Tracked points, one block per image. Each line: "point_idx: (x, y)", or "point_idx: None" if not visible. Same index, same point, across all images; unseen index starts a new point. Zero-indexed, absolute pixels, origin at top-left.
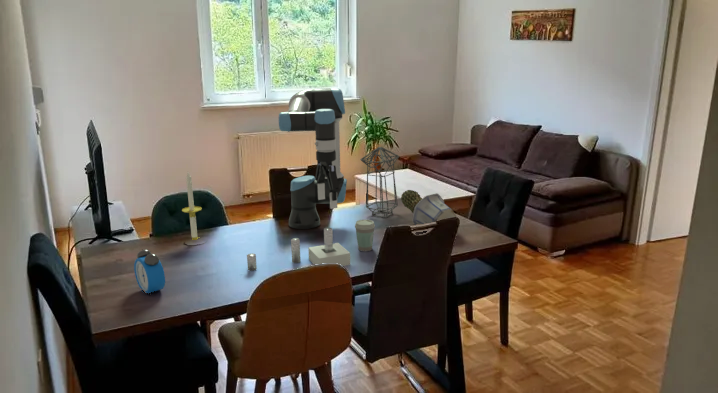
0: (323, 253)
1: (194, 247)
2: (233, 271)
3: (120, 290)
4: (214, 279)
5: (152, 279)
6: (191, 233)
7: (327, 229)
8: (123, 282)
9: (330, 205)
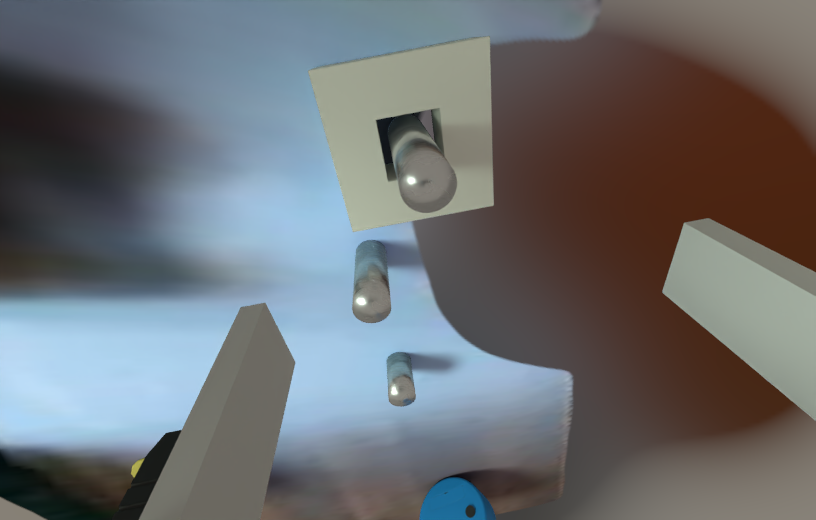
0: None
1: None
2: None
3: None
4: (434, 418)
5: (494, 517)
6: None
7: (436, 191)
8: (396, 513)
9: (706, 313)
